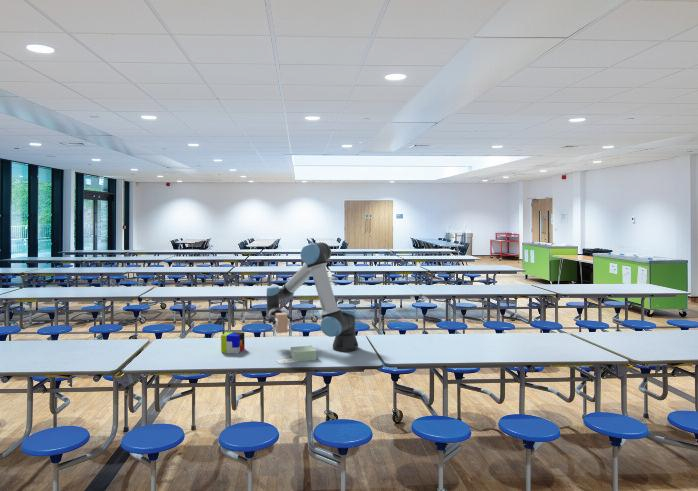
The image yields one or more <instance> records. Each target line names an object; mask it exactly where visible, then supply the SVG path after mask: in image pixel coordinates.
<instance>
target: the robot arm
mask: <svg viewBox="0 0 698 491" xmlns="http://www.w3.org/2000/svg"><path fill="white" fill-rule="evenodd" d="M331 256H332V249H331V247H330V246H329V244H327V243H325V242H310V243H308V244H305V245H304V246H303V247H302V248H301V251H300V259H301V261H302V262H303V263H304V264H303V265H302V266H301V267H300V268H299V270H297V272H296V273H294V274H293V276H292V277H291V278H289V280H287V281H286V283H285V284H284V285H283V286H282V287H279V286H277V285H276V286H275V285H273V286H268V287H267V288H266V310H265V314H266V316H265V318H266V320H265V321H267V322H268V323H269V324H272V325H275V326H276V325H277V326H278V320H277V319H276V313H283V311H282V310H281V309H280V302H281V301H287V300H289V299H292V297H294V294H295V292H296V291H298V289H299V288H300V287H301V286H302V285H303V284H304V283H305V282H306V281H307V280H308V279H309V278H310V277H311V276H312V278H313V283H314V285H315V288H316V293H317V296H318V301H319V303H320V306H321V311H322V312H321V315H320V317H321V321H320V329H321V331H322V333H323V334H324V335H325V336H327V337H331V338H332V337H334V340H333V343H332V350H334V351H337V352H354V351H358V350H359V343H358V339H357V336H356V312H355V311H354V310H352V309H341V308H339V307H338V304H337V301H336V298H335V294H334V292H333V288H332V285H331V281H330V277H329V273H328V270H327V264H328V261H329V260H330V258H331ZM291 323H293V317H292V316H291V315H290V314H288V313H287V326H290V324H291Z"/></svg>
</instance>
